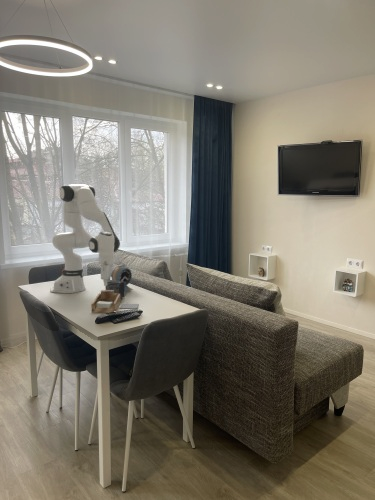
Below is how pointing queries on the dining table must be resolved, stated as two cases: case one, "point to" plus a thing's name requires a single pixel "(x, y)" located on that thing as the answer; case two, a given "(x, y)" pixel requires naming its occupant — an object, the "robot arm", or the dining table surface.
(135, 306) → the pad
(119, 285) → the small box
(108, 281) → the robot arm
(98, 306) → the offcut top
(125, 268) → the alarm clock
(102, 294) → the wooden block
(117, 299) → the wooden tray
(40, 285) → the dining table surface
